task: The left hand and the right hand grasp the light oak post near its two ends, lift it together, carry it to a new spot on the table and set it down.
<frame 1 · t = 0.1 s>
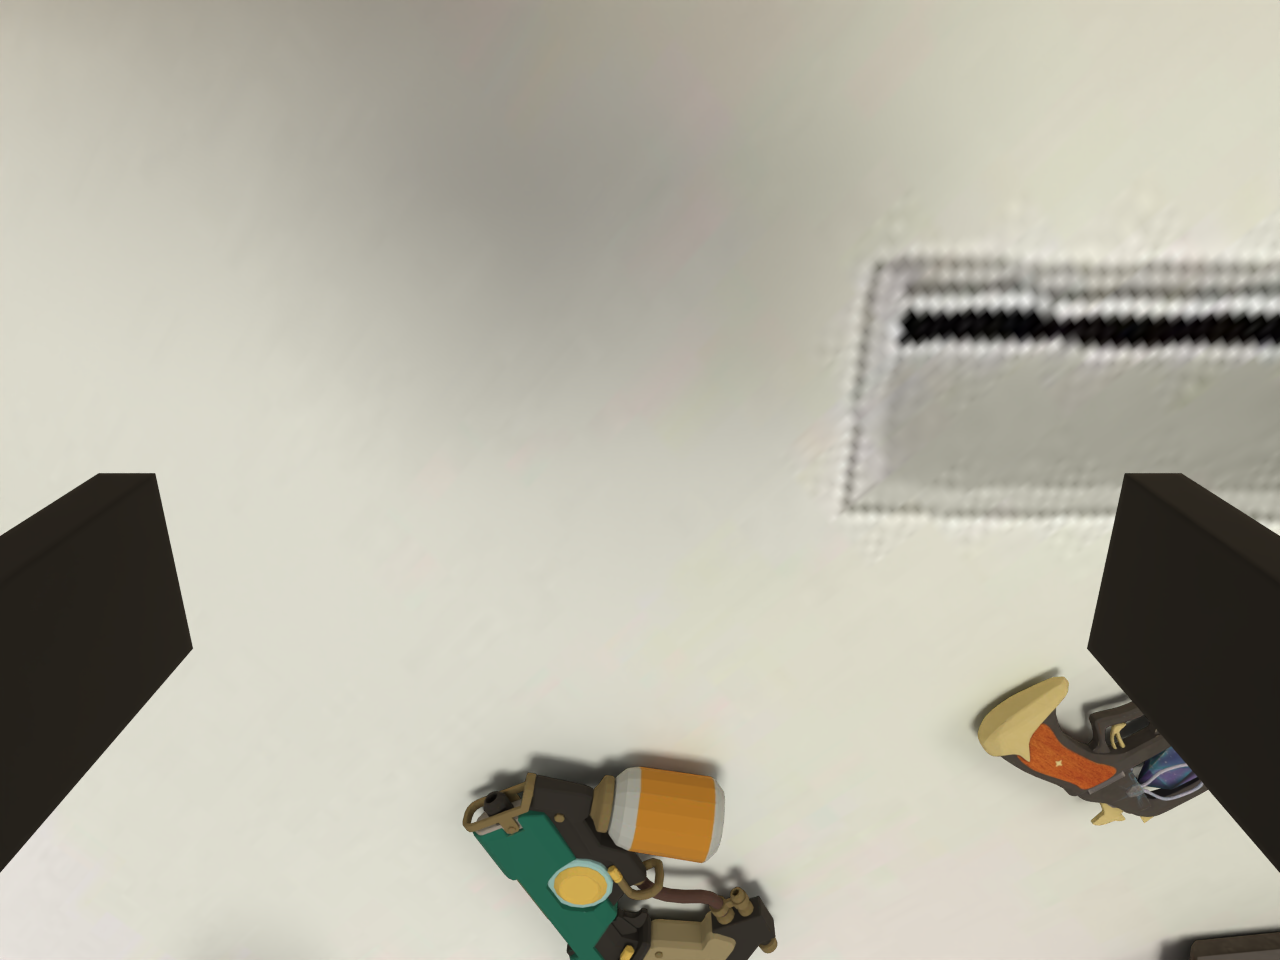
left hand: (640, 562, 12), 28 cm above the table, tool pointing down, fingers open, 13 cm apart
toy gun: (1168, 696, 46), on the table
spray gun: (627, 858, 50), on the table
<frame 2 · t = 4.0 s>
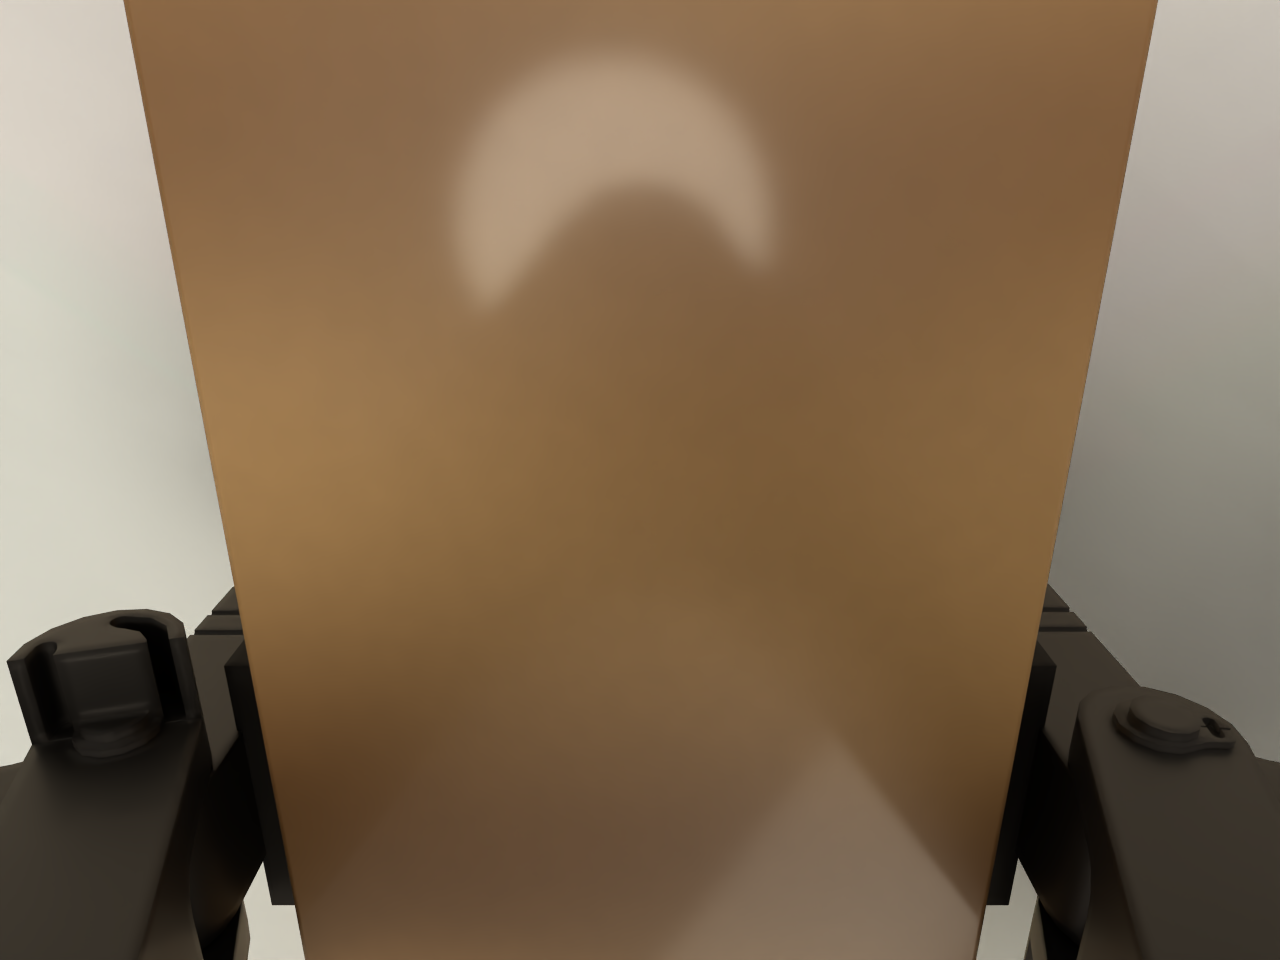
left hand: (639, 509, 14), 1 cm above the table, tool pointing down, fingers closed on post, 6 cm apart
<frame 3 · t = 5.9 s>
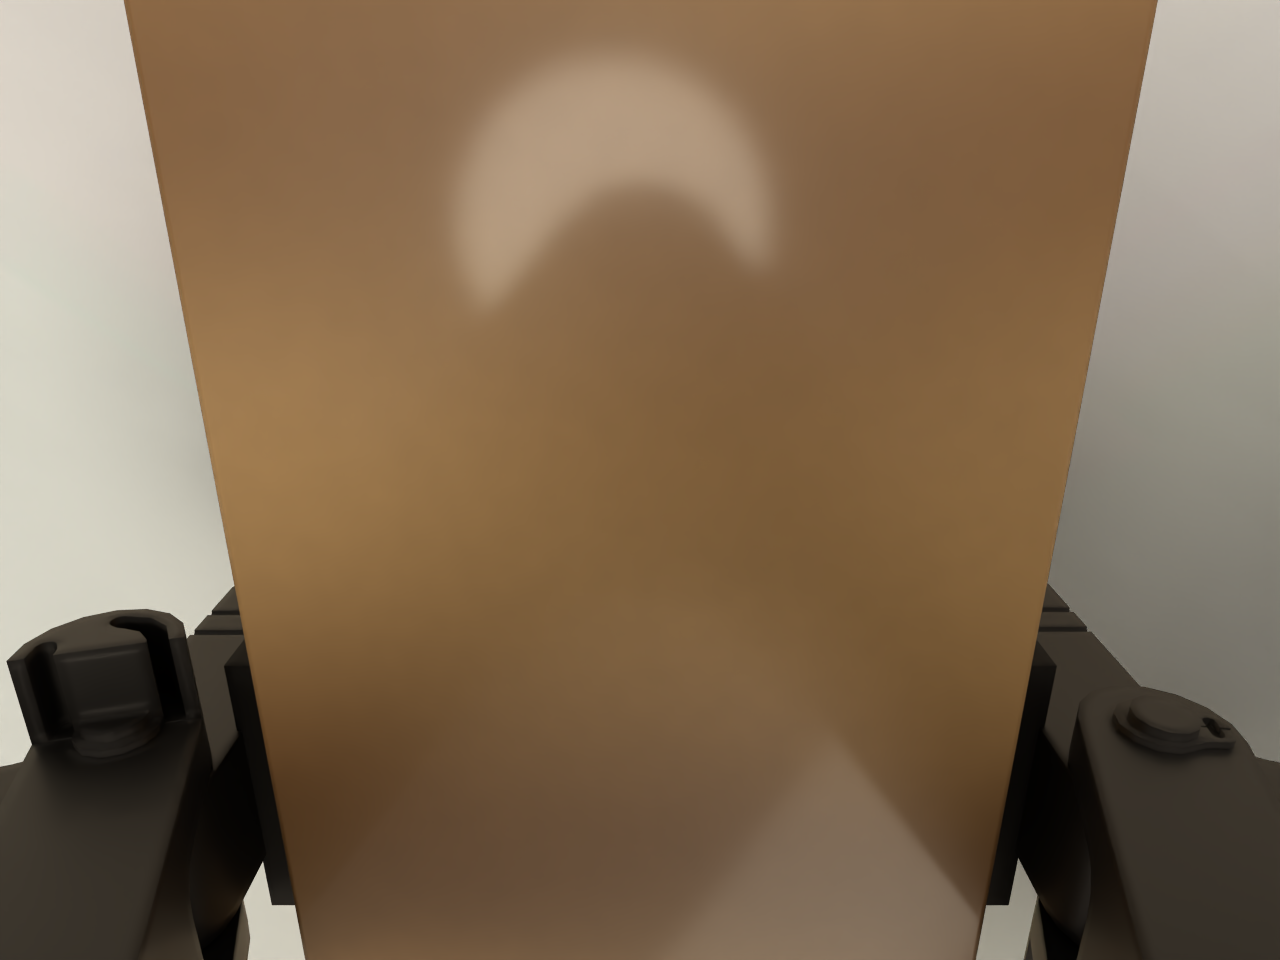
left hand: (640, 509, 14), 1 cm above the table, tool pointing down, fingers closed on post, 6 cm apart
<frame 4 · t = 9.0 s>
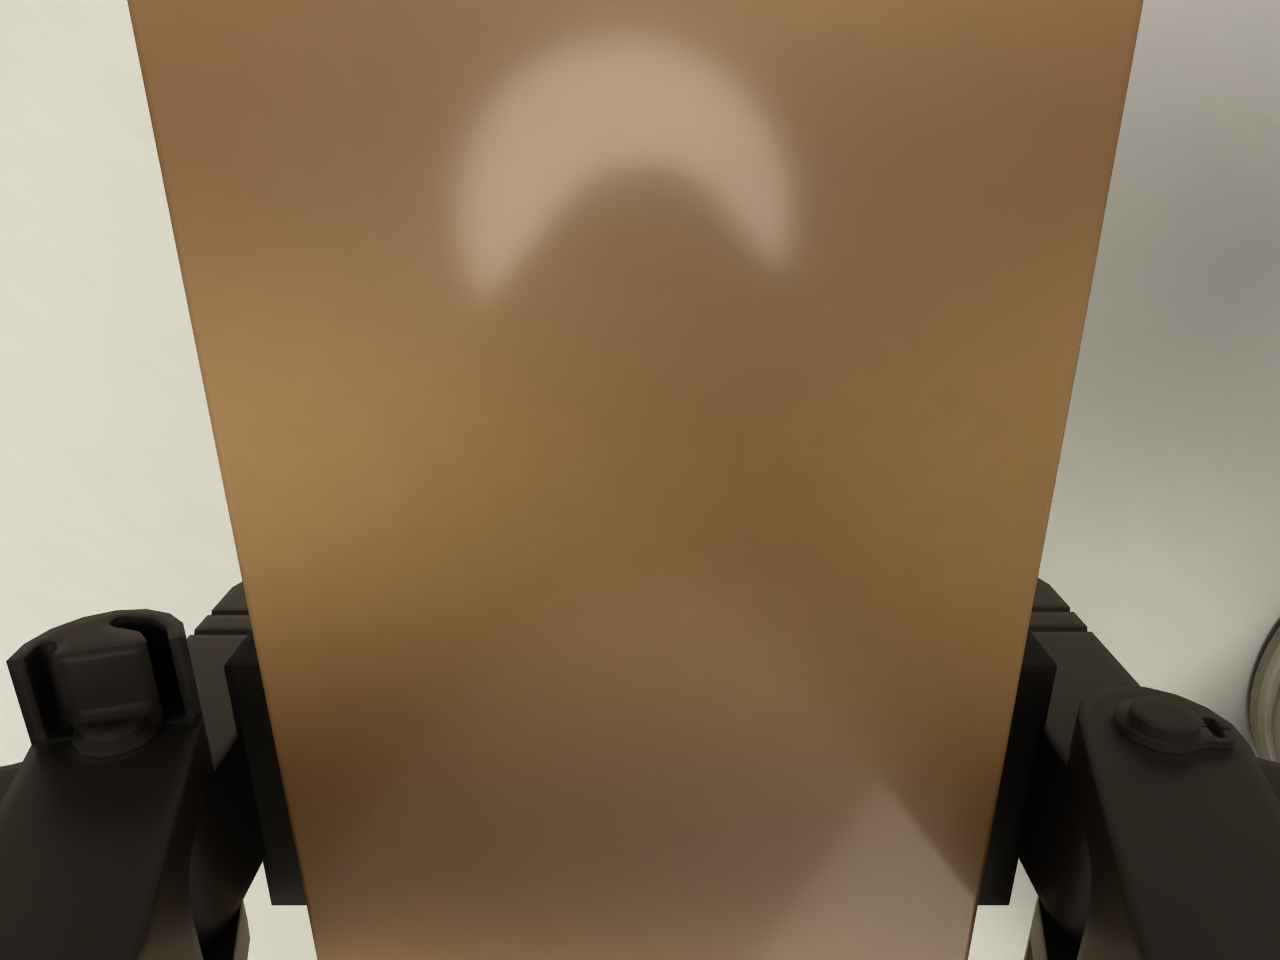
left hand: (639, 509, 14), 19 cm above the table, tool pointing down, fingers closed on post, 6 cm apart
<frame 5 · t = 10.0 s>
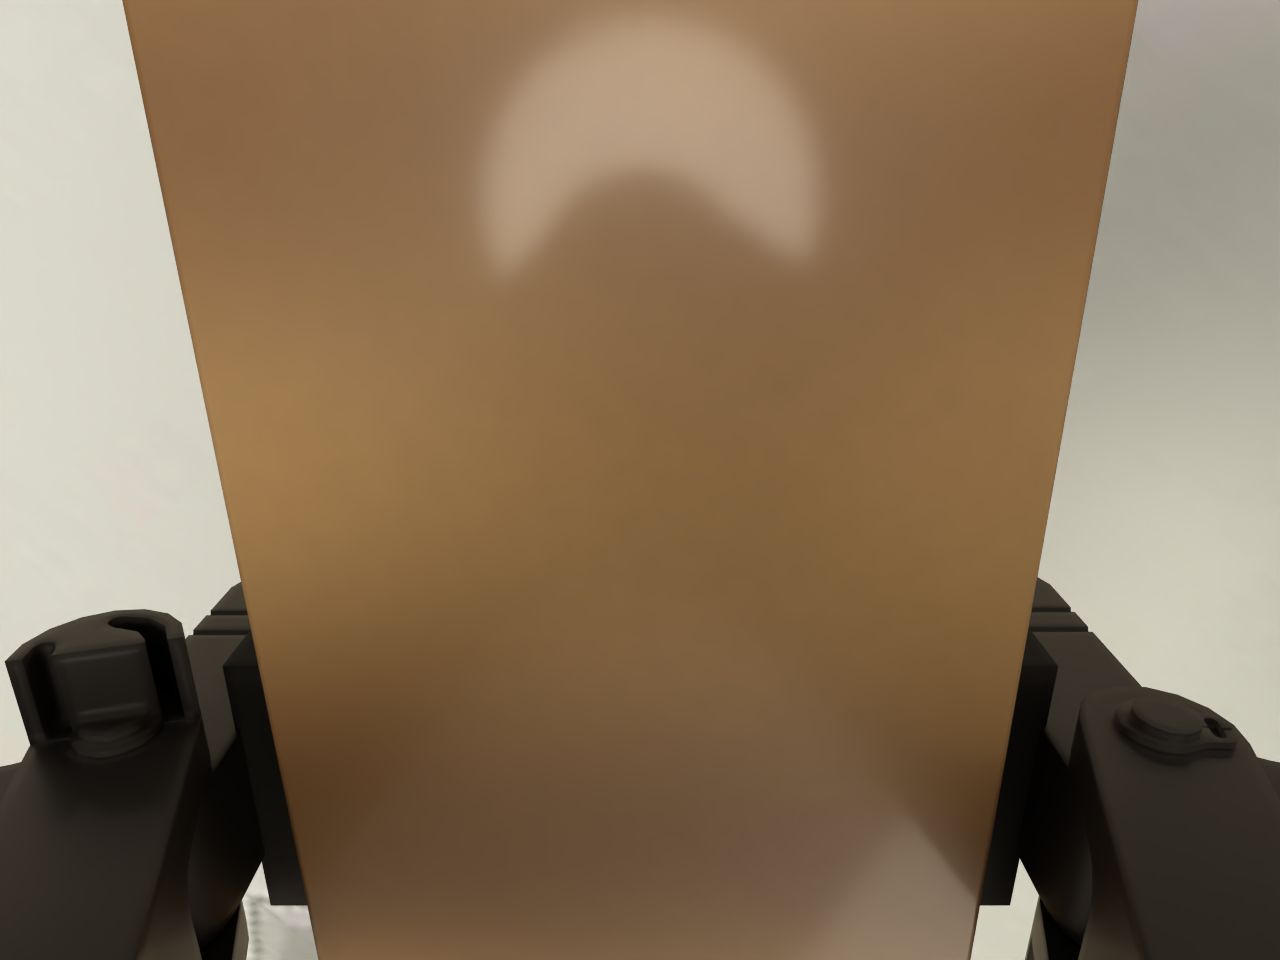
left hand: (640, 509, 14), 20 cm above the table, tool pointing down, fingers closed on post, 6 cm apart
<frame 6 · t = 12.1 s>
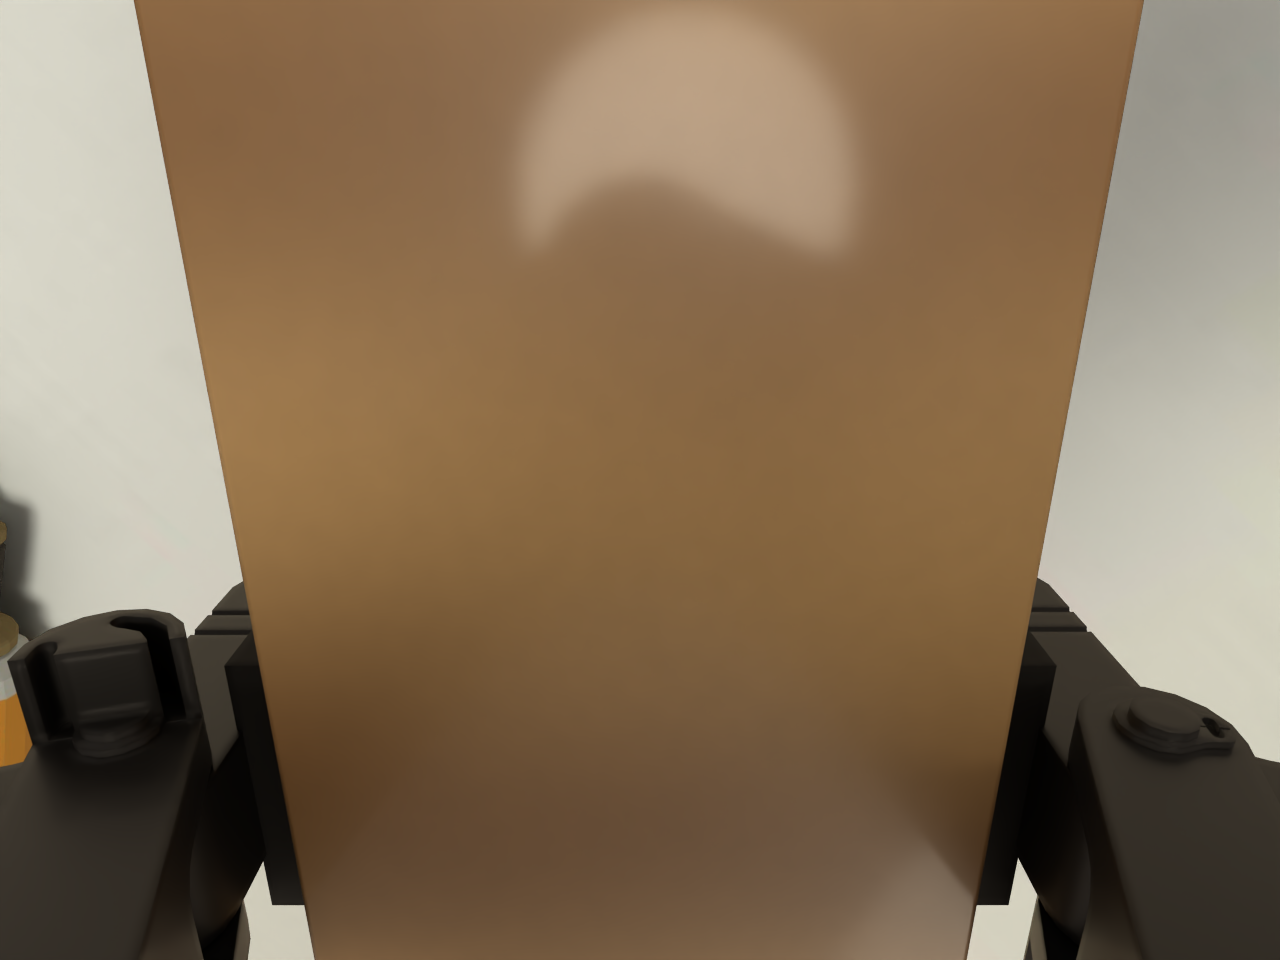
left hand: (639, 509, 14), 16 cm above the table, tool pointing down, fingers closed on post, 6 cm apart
when the left hand's fingers open (2 cm above the table, at t = 14.0 s): post drops 1 cm, held by the right hand.
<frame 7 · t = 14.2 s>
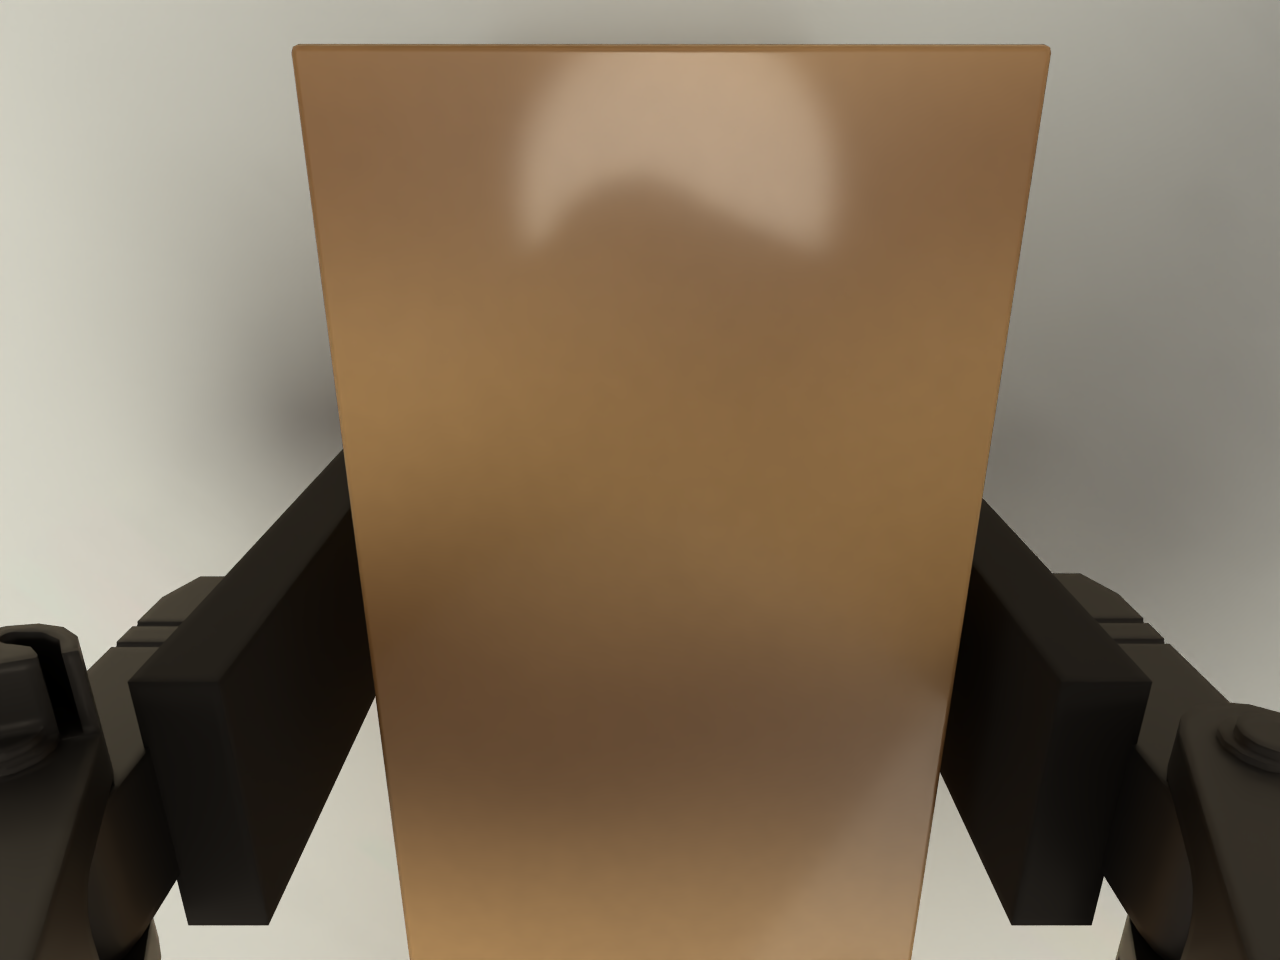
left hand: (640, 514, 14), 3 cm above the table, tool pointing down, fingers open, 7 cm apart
when the right hand's fingers open (4 cm above the table, at t = 14.3 s): post stays where it is, on the table.
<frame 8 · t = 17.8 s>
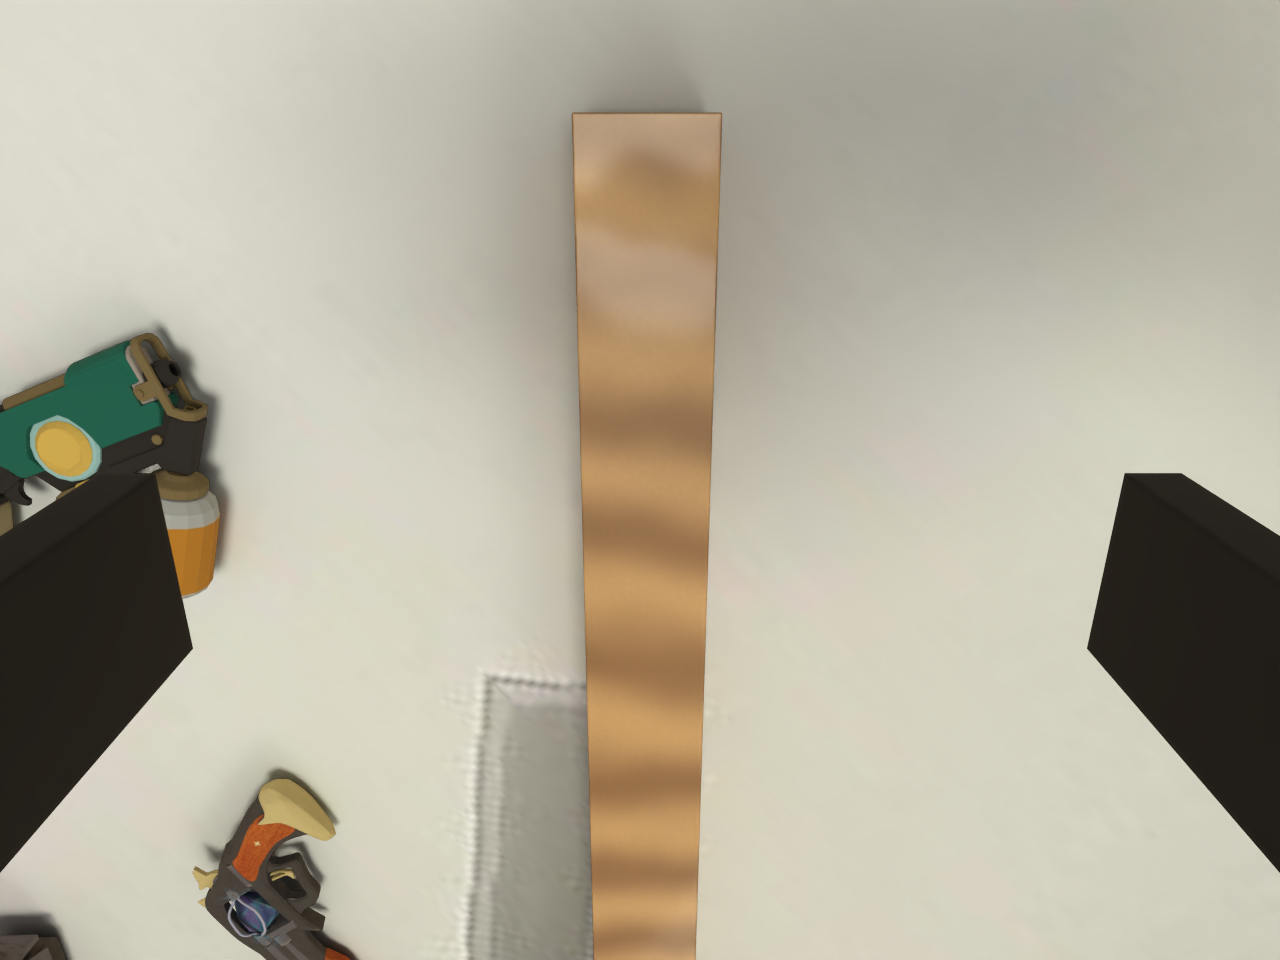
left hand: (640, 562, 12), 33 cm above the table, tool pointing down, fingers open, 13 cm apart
toy gun: (314, 895, 58), on the table
spray gun: (87, 476, 47), on the table
post: (644, 754, 54), on the table
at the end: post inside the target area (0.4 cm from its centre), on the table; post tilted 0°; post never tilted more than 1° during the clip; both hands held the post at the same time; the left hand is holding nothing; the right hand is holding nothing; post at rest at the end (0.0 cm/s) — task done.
